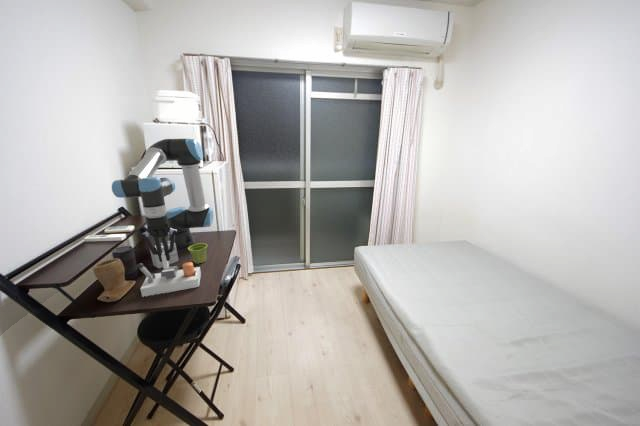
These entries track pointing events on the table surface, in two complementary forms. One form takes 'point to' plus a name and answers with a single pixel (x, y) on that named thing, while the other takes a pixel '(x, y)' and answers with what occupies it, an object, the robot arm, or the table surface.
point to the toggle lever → (144, 270)
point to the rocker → (169, 271)
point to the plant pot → (198, 252)
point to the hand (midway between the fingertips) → (166, 267)
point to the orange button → (188, 269)
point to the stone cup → (112, 279)
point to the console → (170, 283)
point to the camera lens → (127, 261)
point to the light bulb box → (172, 254)
